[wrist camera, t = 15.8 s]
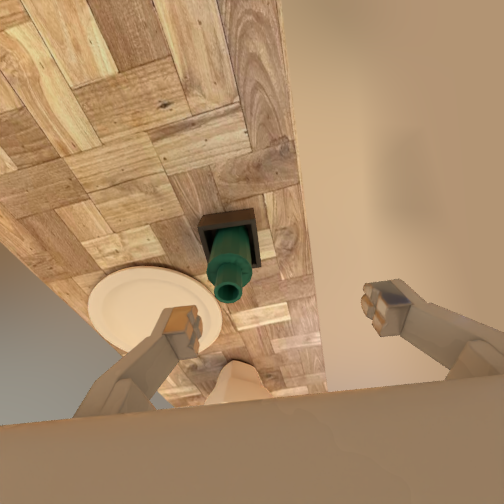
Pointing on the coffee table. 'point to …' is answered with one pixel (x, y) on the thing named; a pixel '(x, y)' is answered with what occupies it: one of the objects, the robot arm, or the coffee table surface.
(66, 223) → the coffee table surface
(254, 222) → the holder
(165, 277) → the plate
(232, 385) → the bowl
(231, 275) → the bottle
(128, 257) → the coffee table surface
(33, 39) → the coffee table surface
